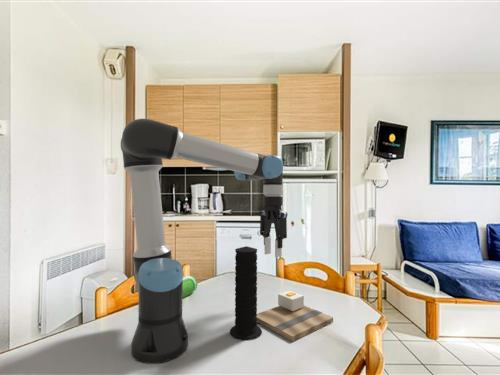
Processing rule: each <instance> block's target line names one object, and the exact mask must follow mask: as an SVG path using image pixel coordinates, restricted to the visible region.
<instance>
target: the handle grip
mask: <svg viewBox="0 0 500 375" xmlns="http://www.w3.org/2000/svg"><path fill="white" fill-rule="evenodd" d="M234 252H235V257H234V259H235V263H234V264H235V267H234V270H235V273H234V274H235V276H234V277H235V278H234V281H235V283H234V285H235V288H234V292H235V294H234V295H235V297H234V306H235V308H234V313H235V314H234V317H235V318H234V325H233V326H232V327H231V328H230V330H229V335H230V336H231V337H232V338H234V339H236V340H239V341H252V340H256V339H258V338H259V337H261V336H262V334H263V330H262V328H261V327H260V326H259V325H257V324H258V322H257V318H256V317H257V314H258V313H257V312H258V308H257V307H258V303H257V302H258V297H257V296H258V292H257V291H258V287H257V285H258V276H257V275H258V262H257V260H258V255H257V253H258V249H257V248H255V247H250V246H242V247H241V246H240V247H238V248H235V250H234Z"/></svg>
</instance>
